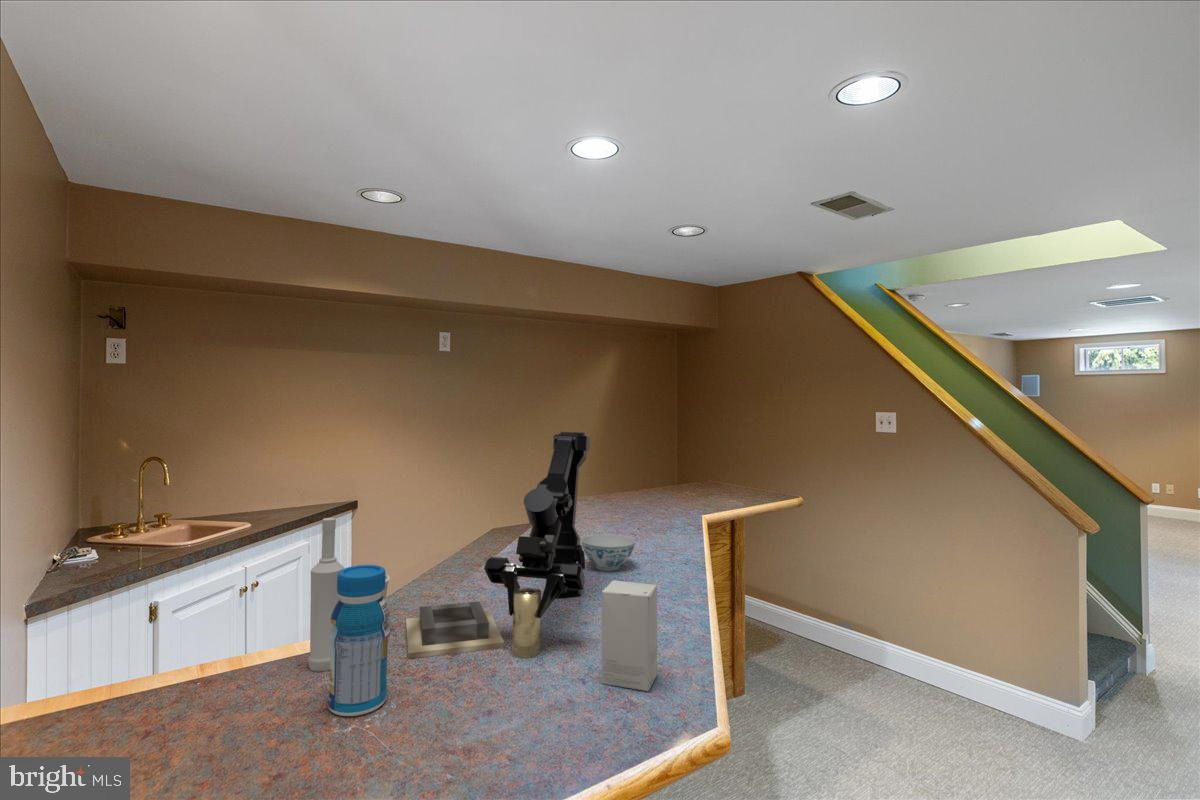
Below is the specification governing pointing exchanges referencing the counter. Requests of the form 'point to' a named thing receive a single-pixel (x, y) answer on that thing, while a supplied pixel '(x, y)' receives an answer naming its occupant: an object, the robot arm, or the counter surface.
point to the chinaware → (608, 550)
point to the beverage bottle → (359, 642)
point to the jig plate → (450, 646)
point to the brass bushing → (526, 622)
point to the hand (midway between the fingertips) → (524, 615)
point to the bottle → (323, 599)
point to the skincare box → (629, 635)
